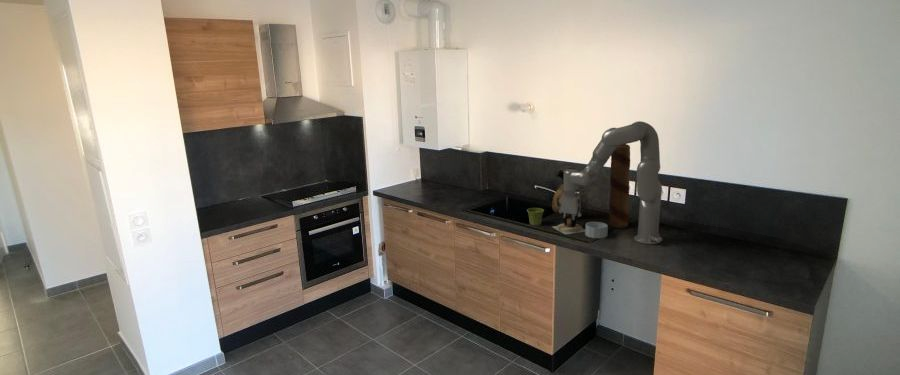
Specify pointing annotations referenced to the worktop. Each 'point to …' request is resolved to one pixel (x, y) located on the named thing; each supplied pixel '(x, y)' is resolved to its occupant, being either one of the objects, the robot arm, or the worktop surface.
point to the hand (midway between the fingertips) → (569, 225)
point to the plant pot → (535, 215)
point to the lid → (569, 227)
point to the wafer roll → (619, 186)
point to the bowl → (596, 230)
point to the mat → (567, 232)
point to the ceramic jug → (559, 196)
